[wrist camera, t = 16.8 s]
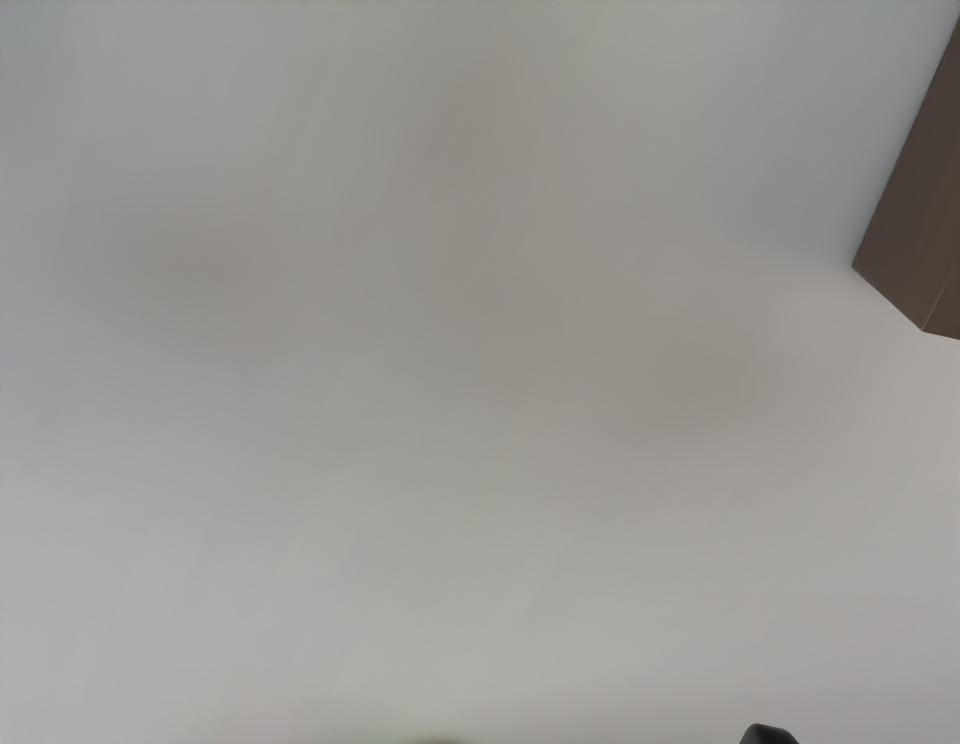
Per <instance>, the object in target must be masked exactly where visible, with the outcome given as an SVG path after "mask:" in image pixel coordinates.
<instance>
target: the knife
mask: <svg viewBox="0 0 960 744" xmlns="http://www.w3.org/2000/svg"><path fill="white" fill-rule="evenodd" d="M852 268H853V269H854V270H855V271H857V272H858V273H859V274H860V275H861V276H862V277H863V278H864V279H865V280H866V281H868V282H869V283H870V284H871V285H872V286H873V287H874V288H875V289H876V290H877V291H879V292H880V293H881V294H882V295H883V296H884V297H885V298H886V299H887V300H888V301H890V302H891V303H892V304H893V305H894V306H895V307H896V308H897V309H898V310H899V311H901V312H902V313H903V314H904V315H905V316H906V317H907V318H908V319H909V320H910V321H911V322H913V323H914V324H915V325H916V326H917V327H918V328H919V329H920V330H921V331H923V332H926V333H931V334H935V335H940V336H944V337H949V338H953V339H958V340H960V20H959V22H958V25H957V27H956V29H955V31H954V34H953V36H952V38H951V41H950V43H949V45H948V47H947V50H946V52H945V54H944V57H943V59H942V61H941V63H940V66H939V68H938V70H937V73H936V75H935V77H934V79H933V82H932V84H931V86H930V89H929V91H928V93H927V95H926V98H925V100H924V102H923V105H922V107H921V109H920V111H919V114H918V116H917V118H916V120H915V123H914V125H913V127H912V130H911V132H910V134H909V136H908V139H907V141H906V143H905V146H904V148H903V150H902V152H901V155H900V157H899V159H898V162H897V164H896V166H895V168H894V171H893V173H892V175H891V178H890V180H889V182H888V184H887V187H886V189H885V191H884V194H883V196H882V198H881V200H880V203H879V205H878V207H877V210H876V212H875V214H874V216H873V219H872V221H871V223H870V226H869V228H868V230H867V232H866V235H865V237H864V239H863V242H862V244H861V246H860V248H859V251H858V253H857V255H856V257H855V260H854V262H853V264H852Z"/></svg>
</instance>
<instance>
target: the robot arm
mask: <svg viewBox="0 0 960 744" xmlns="http://www.w3.org/2000/svg"><path fill="white" fill-rule="evenodd" d="M739 744H799V743H798V742H797V741H796V739H795V738H794V737H793V736H792V735H791V734H790V733H789V732H788V731H786V730H784V729H781V728H777V727H772V726H767V725H763V724H758V723H757V724H752V725H751V726H749V727H748V729H747V730H746V732H745V734H744V736H743V738H742V740H741V741H740V743H739Z"/></svg>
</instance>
